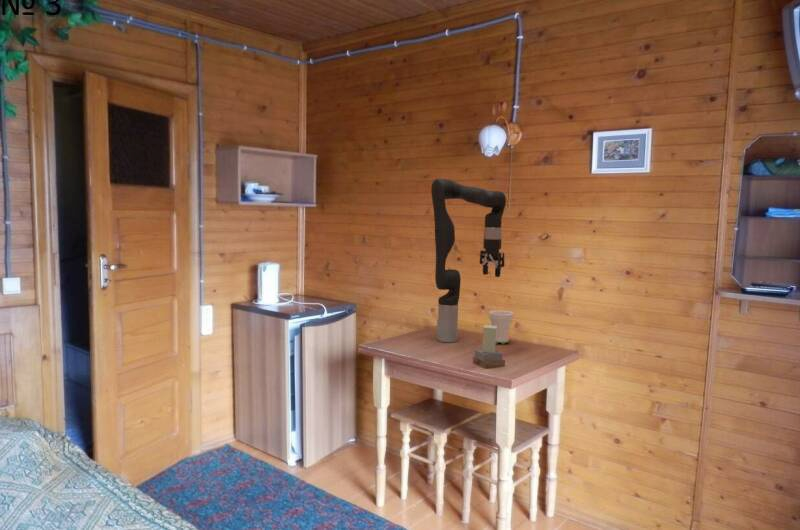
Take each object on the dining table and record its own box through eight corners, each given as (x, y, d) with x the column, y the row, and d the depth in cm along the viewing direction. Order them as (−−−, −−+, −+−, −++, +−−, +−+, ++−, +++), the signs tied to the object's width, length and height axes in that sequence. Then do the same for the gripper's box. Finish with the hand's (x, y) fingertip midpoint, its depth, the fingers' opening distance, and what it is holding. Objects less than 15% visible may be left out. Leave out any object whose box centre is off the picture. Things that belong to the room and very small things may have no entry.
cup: (494, 346, 260) (495, 315, 259) (484, 340, 271) (485, 310, 270) (516, 345, 263) (517, 314, 262) (505, 339, 274) (507, 309, 273)
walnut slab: (472, 364, 233) (473, 357, 232) (490, 361, 237) (491, 354, 237) (486, 370, 225) (486, 362, 224) (504, 367, 229) (505, 360, 229)
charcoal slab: (474, 356, 233) (475, 349, 233) (492, 355, 235) (493, 348, 235) (483, 362, 225) (483, 354, 225) (501, 360, 228) (502, 353, 227)
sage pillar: (482, 349, 233) (484, 324, 232) (495, 350, 232) (496, 325, 231) (481, 352, 228) (483, 327, 227) (494, 353, 227) (496, 328, 226)
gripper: (510, 238, 242) (508, 277, 244) (489, 236, 255) (488, 273, 256) (495, 239, 239) (494, 278, 240) (475, 237, 251) (474, 274, 253)
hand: (491, 275), depth 248 cm, fingers open, 8 cm apart
